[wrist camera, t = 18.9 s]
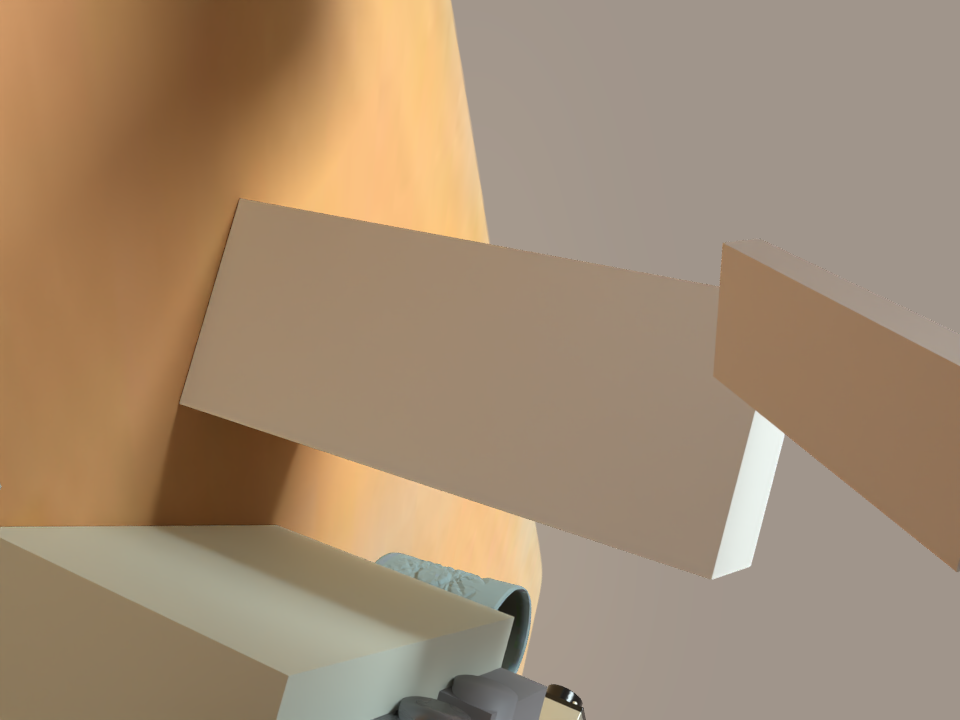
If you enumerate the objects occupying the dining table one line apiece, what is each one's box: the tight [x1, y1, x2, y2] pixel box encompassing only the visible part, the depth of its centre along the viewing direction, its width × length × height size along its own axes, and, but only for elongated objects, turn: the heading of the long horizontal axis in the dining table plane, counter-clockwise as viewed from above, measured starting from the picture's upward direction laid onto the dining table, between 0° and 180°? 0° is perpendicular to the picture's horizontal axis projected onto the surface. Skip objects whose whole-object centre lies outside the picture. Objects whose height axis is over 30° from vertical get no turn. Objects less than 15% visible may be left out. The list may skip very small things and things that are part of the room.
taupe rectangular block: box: [179, 198, 785, 580], centre depth 49 cm, size 12×12×30 cm
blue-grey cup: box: [375, 553, 531, 673], centre depth 72 cm, size 10×10×12 cm
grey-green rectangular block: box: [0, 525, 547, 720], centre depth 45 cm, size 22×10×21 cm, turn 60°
